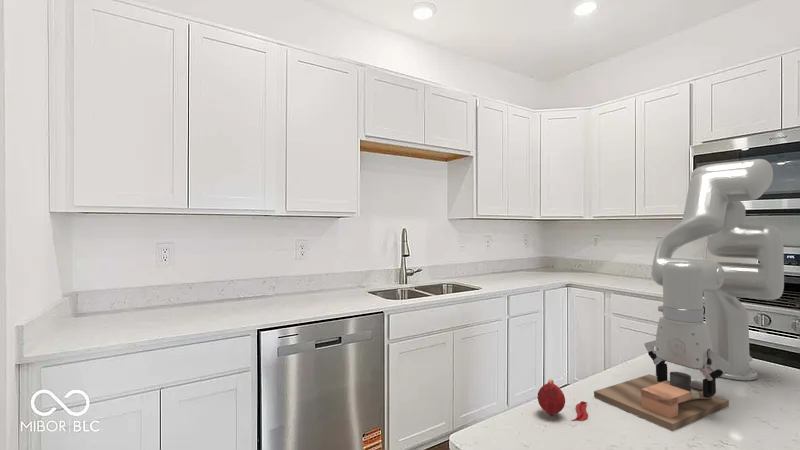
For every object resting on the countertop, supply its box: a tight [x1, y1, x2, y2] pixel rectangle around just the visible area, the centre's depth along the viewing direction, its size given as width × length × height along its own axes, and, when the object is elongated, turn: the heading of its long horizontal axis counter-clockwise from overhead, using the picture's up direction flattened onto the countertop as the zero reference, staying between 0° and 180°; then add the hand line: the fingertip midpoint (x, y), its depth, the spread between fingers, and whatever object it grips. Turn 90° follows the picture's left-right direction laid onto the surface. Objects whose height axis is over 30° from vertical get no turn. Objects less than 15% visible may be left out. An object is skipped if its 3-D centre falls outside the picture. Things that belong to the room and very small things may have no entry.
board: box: [593, 373, 730, 432], centre depth 92 cm, size 23×18×5 cm
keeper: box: [641, 382, 691, 418], centre depth 86 cm, size 8×6×4 cm
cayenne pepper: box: [571, 400, 589, 422], centre depth 87 cm, size 12×5×2 cm, turn 130°
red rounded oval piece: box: [537, 378, 566, 417], centre depth 86 cm, size 6×6×8 cm
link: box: [669, 371, 712, 402], centre depth 90 cm, size 14×5×6 cm, turn 108°
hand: (684, 388), depth 89 cm, fingers open, 9 cm apart
